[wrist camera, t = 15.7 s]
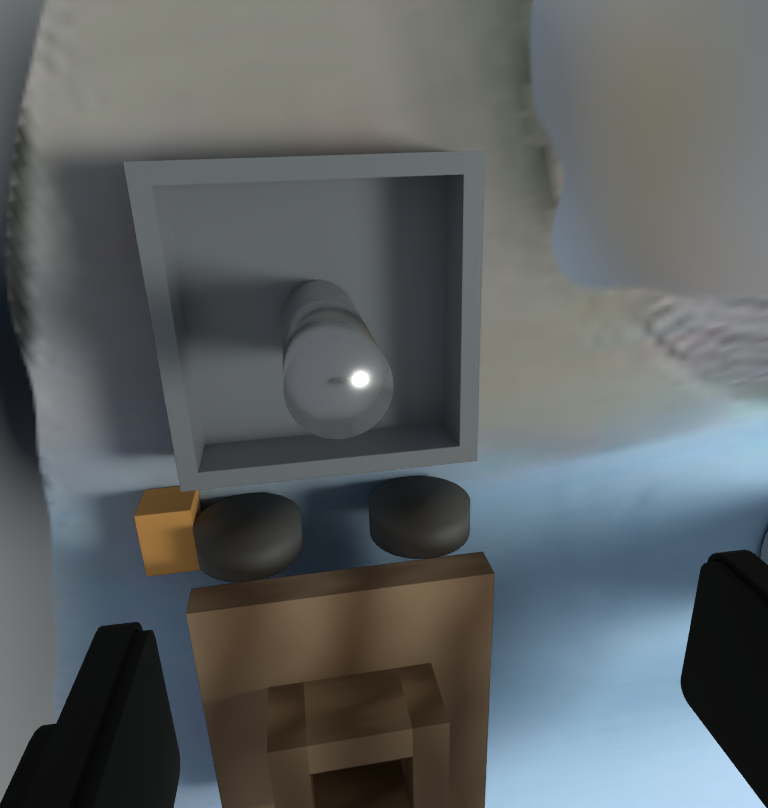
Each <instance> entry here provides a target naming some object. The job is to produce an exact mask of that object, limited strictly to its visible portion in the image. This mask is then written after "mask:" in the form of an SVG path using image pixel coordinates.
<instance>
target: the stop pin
mask: <svg viewBox="0 0 768 808" xmlns="http://www.w3.org/2000/svg"><path fill="white" fill-rule="evenodd" d="M281 317H282V356H283V394H284V400H285V403H286V406H287V408H288V410H289V413H290V414H291V416H292V417H293V419H294V420H295V421H296V422H297V423H298V424H299V425H300V426H301V427H302V428H304V429H305V430H307V431H308V432H310V433H312V434H314V435H317V436H320V437H323V438H328V439H345V438H350V437H354V436H357V435H359V434H362V433H364V432H366V431H367V430H369V429H370V428H372V427H373V426H374V425H375V424H376V423H377V422H379V420H380V419H381V418H382V417H383V416H384V414H385V412H386V411H387V409H388V407H389V405H390V402H391V399H392V395H393V376H392V372H391V369H390V366H389V364H388V362H387V360H386V359H385V357H384V355H383V354H382V352H381V350H380V348H379V347H378V345H377V343H376V341H375V340H374V338H373V336H372V335H371V333H370V331H369V329H368V328H367V326H366V324H365V323H364V321H363V319H362V317H361V316H360V314H359V312H358V311H357V309H356V307H355V305H354V304H353V302H352V300H351V298H350V297H349V295H348V294H347V293H346V292H345V291H344V290H343V289H342V288H341V287H340V286H338V285H337V284H335V283H332V282H330V281H326V280H310V281H306V282H304V283H302V284H300V285H298V286H297V287H295V288H294V289H293V290H292V291H291V292H290V293H289V295H288V296H287V298H286V299H285V301H284V304H283V307H282V314H281Z"/></svg>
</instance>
